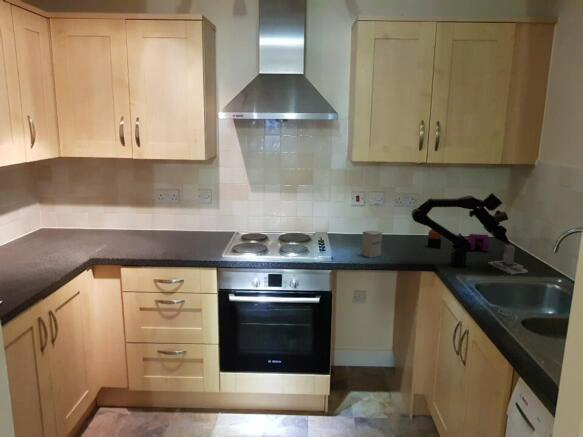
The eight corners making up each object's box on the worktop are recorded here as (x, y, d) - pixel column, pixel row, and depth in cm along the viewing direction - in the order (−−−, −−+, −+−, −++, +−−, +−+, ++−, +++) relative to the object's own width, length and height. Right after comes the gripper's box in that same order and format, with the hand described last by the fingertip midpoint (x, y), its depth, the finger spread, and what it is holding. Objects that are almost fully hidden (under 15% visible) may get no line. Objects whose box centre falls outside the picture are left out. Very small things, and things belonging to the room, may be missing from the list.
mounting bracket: (463, 254, 268) (470, 249, 251) (463, 240, 270) (470, 234, 253) (480, 255, 267) (488, 250, 249) (480, 241, 269) (488, 235, 251)
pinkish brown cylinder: (370, 258, 238) (372, 234, 235) (361, 254, 244) (362, 231, 241) (381, 256, 242) (382, 232, 239) (371, 252, 248) (372, 229, 245)
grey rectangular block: (505, 267, 223) (507, 247, 221) (502, 264, 227) (504, 245, 225) (513, 267, 223) (515, 247, 221) (510, 265, 227) (512, 245, 224)
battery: (428, 245, 264) (429, 228, 262) (440, 247, 261) (442, 229, 259) (427, 247, 260) (428, 230, 258) (440, 249, 257) (441, 231, 255)
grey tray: (511, 274, 216) (512, 269, 216) (487, 263, 232) (488, 259, 231) (528, 272, 219) (528, 268, 218) (503, 262, 234) (503, 258, 234)
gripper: (504, 209, 211) (526, 234, 212) (492, 202, 229) (513, 225, 230) (484, 225, 214) (506, 250, 214) (474, 217, 232) (495, 240, 233)
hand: (505, 241), depth 223 cm, fingers open, 9 cm apart
